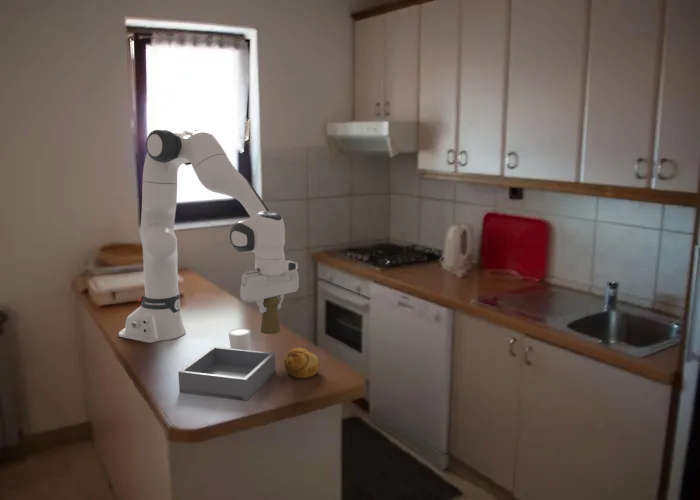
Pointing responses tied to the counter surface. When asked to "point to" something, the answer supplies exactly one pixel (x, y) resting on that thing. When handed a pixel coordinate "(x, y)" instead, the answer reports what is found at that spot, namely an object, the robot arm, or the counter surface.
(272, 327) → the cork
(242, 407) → the counter surface
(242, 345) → the shot glass
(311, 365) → the bread roll
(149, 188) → the robot arm
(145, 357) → the counter surface
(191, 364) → the bin
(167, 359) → the counter surface
